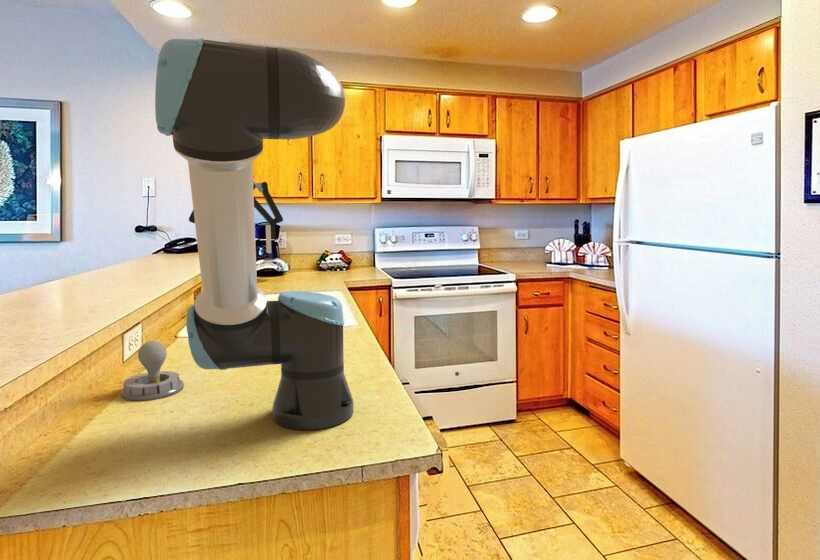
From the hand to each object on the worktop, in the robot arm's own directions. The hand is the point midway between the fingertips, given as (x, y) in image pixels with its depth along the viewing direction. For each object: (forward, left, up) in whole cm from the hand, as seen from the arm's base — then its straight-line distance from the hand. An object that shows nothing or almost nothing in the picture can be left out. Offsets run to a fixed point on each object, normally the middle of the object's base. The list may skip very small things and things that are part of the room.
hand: (238, 253), depth 114 cm
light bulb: (-4, +19, -28) cm, 34 cm away
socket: (-4, +19, -29) cm, 35 cm away
